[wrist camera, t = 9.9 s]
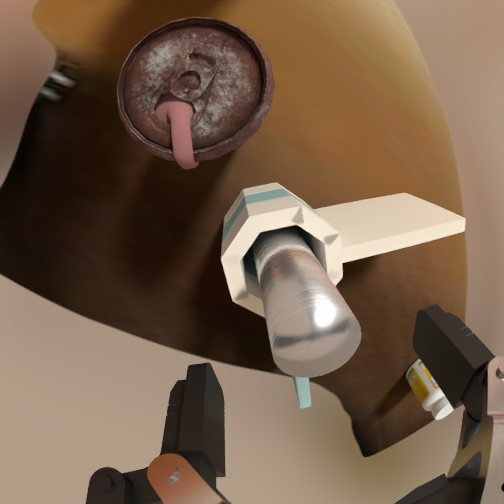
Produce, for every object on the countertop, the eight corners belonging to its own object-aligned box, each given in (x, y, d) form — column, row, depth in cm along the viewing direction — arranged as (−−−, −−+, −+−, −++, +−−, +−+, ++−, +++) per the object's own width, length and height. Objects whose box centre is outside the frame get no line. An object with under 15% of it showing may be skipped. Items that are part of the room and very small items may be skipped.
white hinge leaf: (219, 194, 23) (211, 224, 15) (403, 163, 23) (466, 178, 15) (236, 267, 26) (240, 327, 18) (406, 230, 26) (460, 266, 18)
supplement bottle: (426, 349, 33) (458, 393, 25) (436, 361, 35) (465, 401, 26) (399, 373, 35) (426, 419, 26) (411, 383, 36) (436, 425, 27)
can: (182, 160, 22) (119, 186, 9) (173, 88, 20) (104, 32, 7) (255, 149, 22) (288, 160, 9) (246, 77, 20) (266, 1, 7)
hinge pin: (244, 209, 24) (264, 321, 9) (284, 201, 24) (361, 297, 9) (252, 246, 25) (279, 385, 11) (290, 238, 25) (359, 364, 11)
